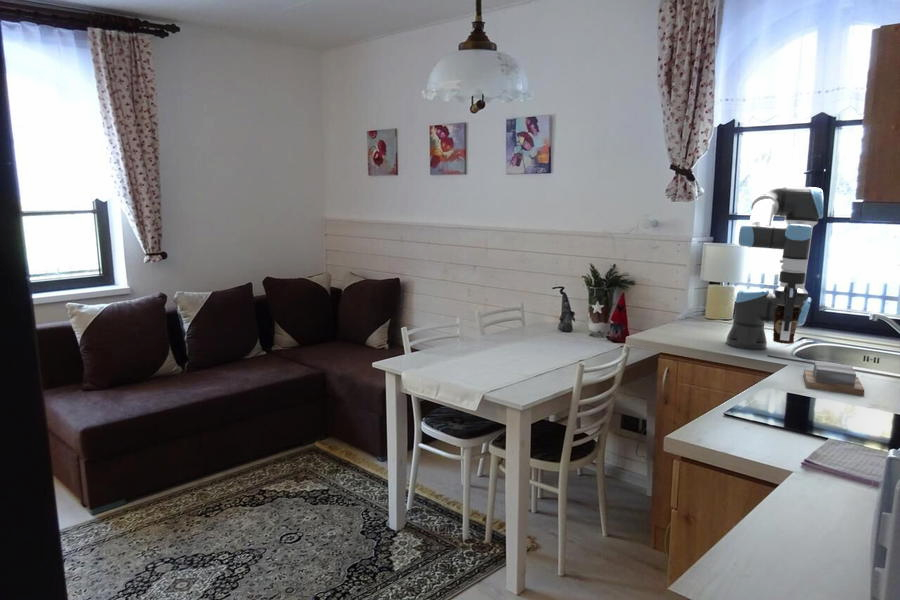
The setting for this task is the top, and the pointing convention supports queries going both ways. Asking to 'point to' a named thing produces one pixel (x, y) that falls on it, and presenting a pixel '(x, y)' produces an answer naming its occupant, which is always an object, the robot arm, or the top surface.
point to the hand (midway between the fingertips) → (784, 337)
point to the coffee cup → (778, 323)
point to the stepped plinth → (833, 386)
